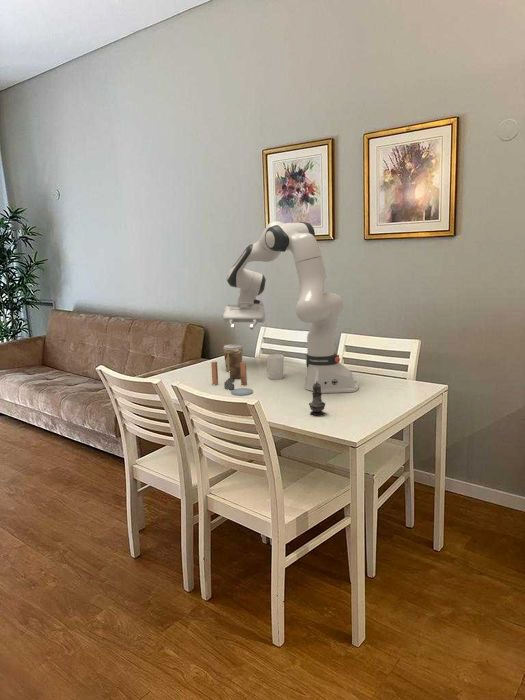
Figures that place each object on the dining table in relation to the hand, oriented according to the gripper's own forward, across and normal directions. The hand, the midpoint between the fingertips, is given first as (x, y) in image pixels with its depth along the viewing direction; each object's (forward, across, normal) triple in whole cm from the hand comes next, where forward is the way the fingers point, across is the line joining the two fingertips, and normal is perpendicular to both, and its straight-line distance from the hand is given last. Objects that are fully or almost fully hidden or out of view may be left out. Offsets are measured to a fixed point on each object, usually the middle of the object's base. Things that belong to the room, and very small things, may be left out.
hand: (241, 328), depth 246 cm
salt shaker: (+56, +42, -28) cm, 75 cm away
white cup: (+22, +18, +7) cm, 29 cm away
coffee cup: (+13, -5, +16) cm, 22 cm away
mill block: (+23, 0, +6) cm, 24 cm away
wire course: (+32, 0, -3) cm, 32 cm away
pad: (+39, +8, -11) cm, 42 cm away
